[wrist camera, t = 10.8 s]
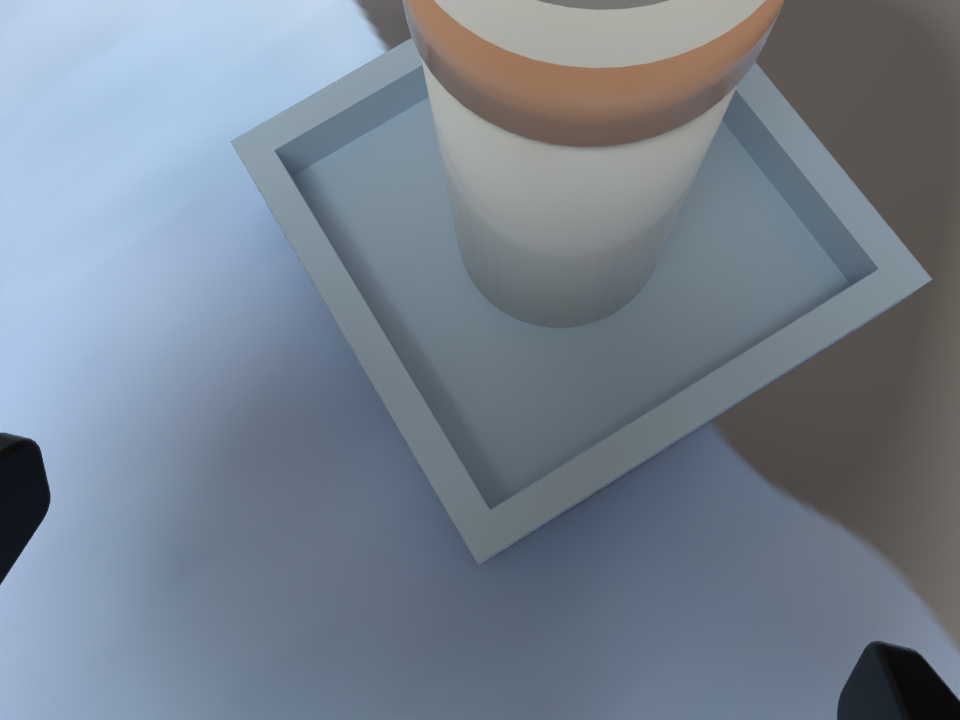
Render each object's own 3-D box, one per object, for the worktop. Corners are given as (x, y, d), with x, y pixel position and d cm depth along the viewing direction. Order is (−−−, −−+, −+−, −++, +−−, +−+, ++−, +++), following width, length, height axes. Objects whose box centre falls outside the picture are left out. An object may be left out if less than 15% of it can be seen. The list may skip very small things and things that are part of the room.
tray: (483, 563, 19) (477, 564, 17) (258, 179, 21) (230, 141, 19) (892, 306, 19) (932, 279, 17) (624, -33, 22) (632, -89, 20)
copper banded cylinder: (647, 349, 19) (834, 40, 8) (433, 311, 19) (313, -34, 8) (679, 152, 20) (880, -366, 9) (476, 120, 21) (424, -408, 9)
